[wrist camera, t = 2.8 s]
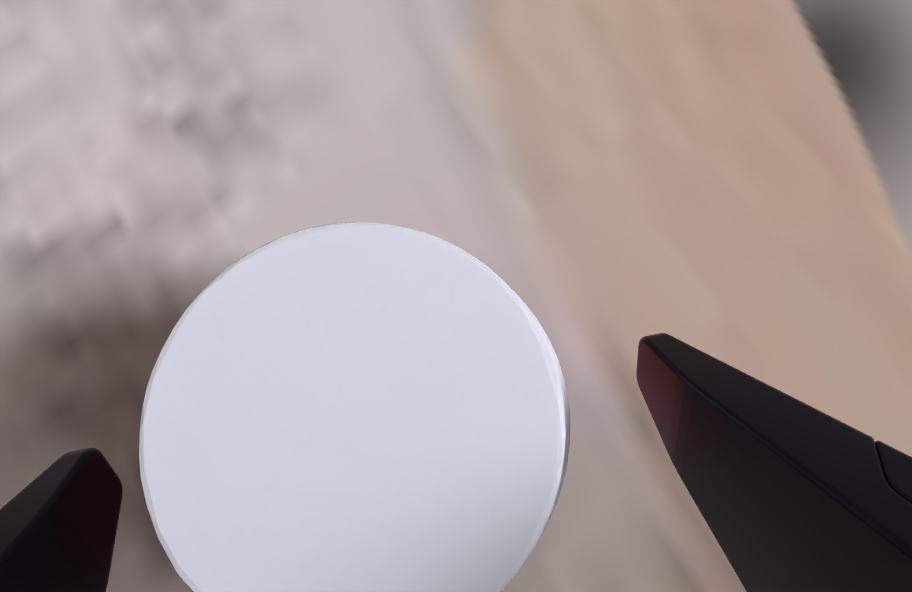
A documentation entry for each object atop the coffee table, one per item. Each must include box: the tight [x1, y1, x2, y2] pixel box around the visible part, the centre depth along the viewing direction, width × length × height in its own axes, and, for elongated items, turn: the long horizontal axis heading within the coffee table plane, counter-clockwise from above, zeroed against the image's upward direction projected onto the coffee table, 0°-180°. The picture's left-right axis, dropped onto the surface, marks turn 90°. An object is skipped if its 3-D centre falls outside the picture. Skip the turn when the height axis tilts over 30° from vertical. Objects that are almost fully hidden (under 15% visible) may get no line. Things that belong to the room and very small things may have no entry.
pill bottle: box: [139, 222, 570, 592], centre depth 11 cm, size 6×6×11 cm
